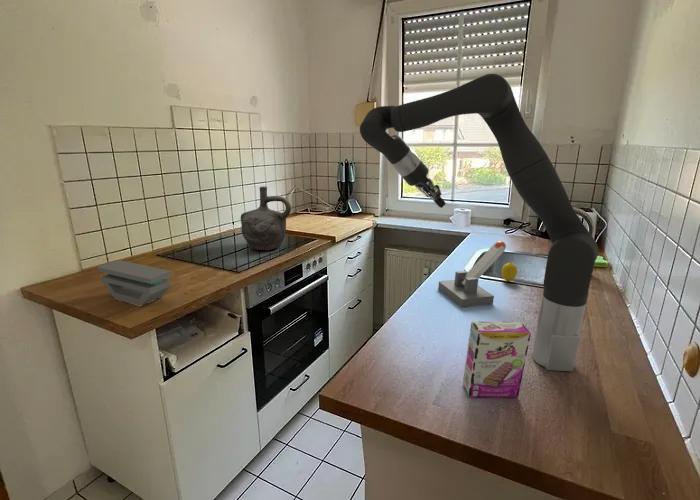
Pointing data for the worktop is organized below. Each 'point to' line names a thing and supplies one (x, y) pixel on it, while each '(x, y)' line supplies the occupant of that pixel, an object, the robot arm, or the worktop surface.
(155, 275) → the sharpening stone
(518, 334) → the candy bar box
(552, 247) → the robot arm
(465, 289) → the lever stand
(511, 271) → the lemon
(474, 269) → the lever
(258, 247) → the vessel
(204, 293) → the worktop surface
